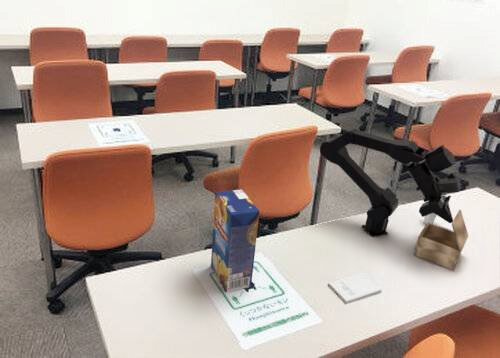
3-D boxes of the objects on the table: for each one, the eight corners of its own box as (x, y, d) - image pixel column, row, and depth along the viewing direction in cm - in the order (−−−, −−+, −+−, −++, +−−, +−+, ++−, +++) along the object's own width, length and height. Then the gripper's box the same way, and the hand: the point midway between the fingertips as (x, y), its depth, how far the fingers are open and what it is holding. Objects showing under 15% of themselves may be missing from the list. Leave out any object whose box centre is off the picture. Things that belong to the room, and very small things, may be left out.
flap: (451, 223, 135) (453, 223, 135) (459, 209, 144) (460, 209, 143) (459, 251, 137) (461, 251, 136) (466, 236, 145) (468, 235, 145)
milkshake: (438, 228, 162) (445, 203, 157) (422, 225, 163) (429, 200, 158) (436, 221, 166) (443, 197, 161) (420, 218, 167) (427, 194, 162)
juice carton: (251, 287, 125) (259, 211, 114) (225, 292, 122) (231, 215, 111) (234, 261, 135) (241, 188, 124) (210, 265, 132) (215, 192, 121)
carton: (412, 255, 145) (418, 236, 142) (422, 239, 154) (427, 221, 151) (452, 271, 140) (459, 252, 136) (460, 253, 148) (467, 235, 145)
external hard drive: (380, 293, 128) (345, 305, 122) (361, 276, 134) (327, 286, 129) (382, 289, 127) (346, 300, 122) (362, 271, 134) (328, 281, 128)
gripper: (441, 177, 129) (471, 225, 128) (455, 158, 143) (482, 201, 143) (406, 193, 136) (435, 238, 136) (423, 173, 150) (449, 214, 150)
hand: (451, 222), depth 141 cm, fingers closed
